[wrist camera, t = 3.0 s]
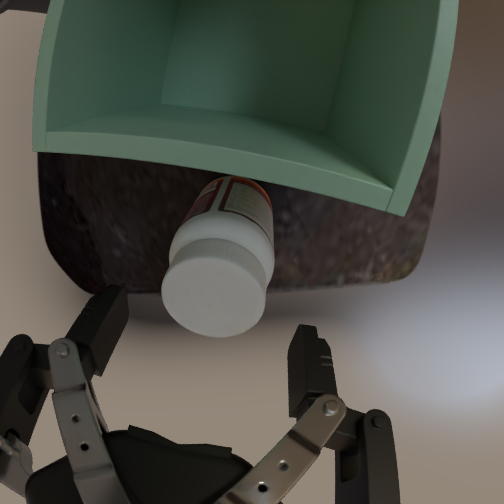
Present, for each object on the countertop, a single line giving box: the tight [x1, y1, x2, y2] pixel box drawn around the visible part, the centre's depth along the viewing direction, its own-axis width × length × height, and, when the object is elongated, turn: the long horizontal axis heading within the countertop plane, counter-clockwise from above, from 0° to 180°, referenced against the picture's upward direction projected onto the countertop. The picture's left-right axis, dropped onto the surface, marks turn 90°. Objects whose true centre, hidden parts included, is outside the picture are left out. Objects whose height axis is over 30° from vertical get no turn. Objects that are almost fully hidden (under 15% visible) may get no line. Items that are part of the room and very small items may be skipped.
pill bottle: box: [161, 176, 275, 337], centre depth 18 cm, size 6×6×11 cm
